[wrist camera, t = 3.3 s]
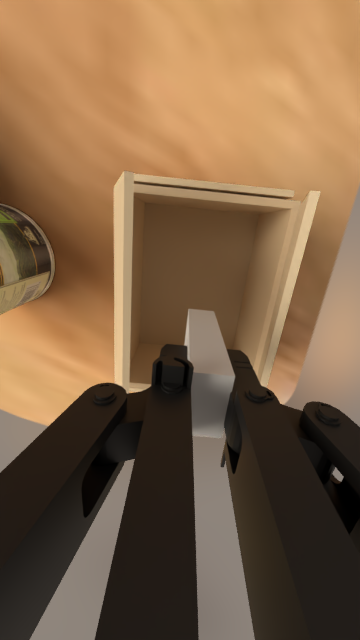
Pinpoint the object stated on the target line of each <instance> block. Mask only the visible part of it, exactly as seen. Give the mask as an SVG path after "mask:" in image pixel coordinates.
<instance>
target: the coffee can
mask: <svg viewBox="0 0 360 640" xmlns="http://www.w3.org/2000/svg"><path fill="white" fill-rule="evenodd" d="M54 273H55V260H54V254H53V250H52V247H51V245H50V242H49V241H48V239H47V237H46V235H45V233H44V232H43V231H42V229H41V228H40V227H39V226H38V225H37V224H36V223H35V222H34V221H33V220H32V219H31V218H30V217H29V216H27V215H26V214H24V213H23V212H21V211H19V210H18V209H16V208H13V207H11V206H8V205H4V204H0V315H1V314H3V313H5V312H7V311H9V310H11V309H14V308H16V307H18V306H20V305H22V304H24V303H26V302H29V301H32V300H35V299H37V298H39V297H40V296H41V295H43V294H44V293H45V292H46V291H47V289H48V288H49V286H50V285H51V283H52V280H53V277H54Z"/></svg>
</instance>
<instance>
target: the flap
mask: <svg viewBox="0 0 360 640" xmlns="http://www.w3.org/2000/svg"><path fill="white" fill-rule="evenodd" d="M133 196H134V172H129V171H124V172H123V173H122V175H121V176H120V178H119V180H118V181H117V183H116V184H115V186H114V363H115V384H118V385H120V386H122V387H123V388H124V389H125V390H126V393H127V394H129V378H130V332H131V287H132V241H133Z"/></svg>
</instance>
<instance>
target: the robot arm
mask: <svg viewBox="0 0 360 640" xmlns="http://www.w3.org/2000/svg"><path fill="white" fill-rule="evenodd" d="M224 428H225V433H226V442H225V446H224V450H223V455H222V460H221V467H224V464H225V460H226V465H227V471H228V478H229V484H230V490H231V496H232V502H233V508H234V514H235V520H236V527H237V533H238V539H239V545H240V551H241V556H242V563H243V569H244V575H245V581H246V588H247V593H248V600H249V606H250V612H251V618H252V624H253V630H254V636H255V640H360V427H359V426H358V425H357V424H355V423H354V422H353V421H352V420H351V419H350V418H349V417H348V416H346V415H345V414H344V413H342V412H341V411H340V410H338V409H337V408H334V407H332V406H331V405H328V404H324V403H321V402H309V403H307V404H306V405H305V406H304V409H303V411H300V410H297V409H294V408H291V407H288V406H285V405H282V404H280V403H279V401H278V399H277V397H276V396H275V394H274V393H273V392H272V391H270V390H269V389H268V388H266V387H264V386H261V384H260V382H259V380H258V377H257V375H256V373H255V371H254V369H253V367H252V365H251V364H250V360H249V358H248V356H247V355H245V354H244V353H243V352H242V351H241V350H233V349H226V347H225V344H224V341H223V337H222V334H221V331H220V328H219V325H218V322H217V319H216V316H215V313H214V311H207V310H197V309H188V318H187V326H186V335H185V344H184V345H174V344H166V345H165V346H163V347H162V348H161V352H160V356H159V358H157V359H156V360H155V361H154V362H153V365H152V381H151V386H150V387H149V388H147V389H146V390H143V391H140V392H136V393H129V394H127V393H126V390H125V389H124V388H123V387H122V386H120V385H118V384H114V383H101V384H97V385H95V386H92V387H90V388H89V389H87V390H86V391H85V392H84V393H83V394H82V395H81V396H80V397H79V398H78V399H77V400H75V401H74V402H73V403H72V404H71V405H70V406H69V407H68V408H67V409H66V410H65V411H64V412H63V413H62V414H61V415H60V416H59V417H58V418H57V419H56V420H55V421H54V422H53V423H52V424H51V425H50V426H48V427H47V429H45V430H44V431H43V432H42V433H41V434H40V435H39V436H38V437H37V438H36V439H35V440H34V441H33V442H32V443H31V444H30V445H29V446H28V447H27V448H26V449H25V450H24V451H23V452H21V454H19V456H17V457H16V458H15V459H14V460H13V461H12V462H11V463H10V464H9V465H8V466H7V467H6V468H5V469H4V470H3V471H2V472H1V473H0V640H29V639H30V637H31V636H32V634H33V632H34V630H35V628H36V626H37V625H38V623H39V621H40V619H41V617H42V615H43V613H44V612H45V610H46V607H47V606H48V604H49V602H50V600H51V599H52V597H53V595H54V593H55V591H56V589H57V587H58V586H59V584H60V582H61V580H62V578H63V576H64V575H65V573H66V571H67V569H68V567H69V565H70V563H71V562H72V560H73V558H74V556H75V554H76V552H77V550H78V549H79V547H80V545H81V543H82V541H83V539H84V537H85V536H86V534H87V532H88V530H89V528H90V526H91V524H92V523H93V521H94V519H95V517H96V515H97V513H98V511H99V510H100V508H101V506H102V504H103V502H104V500H105V499H106V497H107V495H108V493H109V491H110V489H111V487H112V486H113V484H114V482H115V480H116V478H117V476H118V474H119V473H120V471H121V469H122V467H123V465H124V462H125V461H127V460H131V459H135V461H134V465H133V470H132V474H131V479H130V484H129V488H128V492H127V497H126V501H125V506H124V510H123V515H122V519H121V524H120V528H119V533H118V538H117V542H116V546H115V551H114V555H113V560H112V564H111V569H110V573H109V578H108V582H107V587H106V592H105V596H104V601H103V605H102V610H101V614H100V619H99V623H98V628H97V632H96V637H95V640H198V607H197V574H196V545H195V544H196V541H195V508H194V476H193V443H192V442H193V440H192V436H203V437H212V438H222V436H223V431H224ZM335 467H336V468H337V469H338V470H339V471H340V473H341V474H342V475H343V476H344V478H343V480H342V482H340V481H338V480H337V479H336V478H335V477H334V476H333V474H332V473H333V471H334V469H335Z"/></svg>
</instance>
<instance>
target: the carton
mask: <svg viewBox="0 0 360 640" xmlns="http://www.w3.org/2000/svg"><path fill="white" fill-rule="evenodd" d="M294 193H295V190H286V189H276V188H267V187H257V186H247V185H238V184H228V183H219V182H209V181H200V180H190V179H181V178H171V177H161V176H152V175H142V174H134V196H133V241H132V287H131V332H130V378H129V391H133V392H140V391H143V390H146V389H147V388H149V387H150V386H151V381H152V365H153V362H154V361H155V360H156V359H157V358H159V356H160V352H161V348H162V347H163V346H165V345H166V344H174V345H184V344H185V335H186V326H187V318H188V309H197V310H207V311H214V313H215V316H216V319H217V322H218V325H219V328H220V331H221V334H222V337H223V341H224V344H225V347H226V349H233V350H241V351H242V352H243V353H244V354H245V355H247V356H248V358H249V360H250V364H251V365H252V367H253V369H254V371H255V373H256V375H257V373H258V369H259V365H260V361H261V357H262V353H263V349H264V345H265V341H266V337H267V333H268V329H269V326H270V322H271V318H272V314H273V310H274V306H275V302H276V298H277V294H278V290H279V286H280V282H281V278H282V274H283V270H284V266H285V262H286V258H287V254H288V250H289V246H290V242H291V238H292V234H293V230H294V226H295V222H296V218H297V214H298V210H299V207H300V205H301V201H295V200H286V199H289V198H293V197H294Z"/></svg>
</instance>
